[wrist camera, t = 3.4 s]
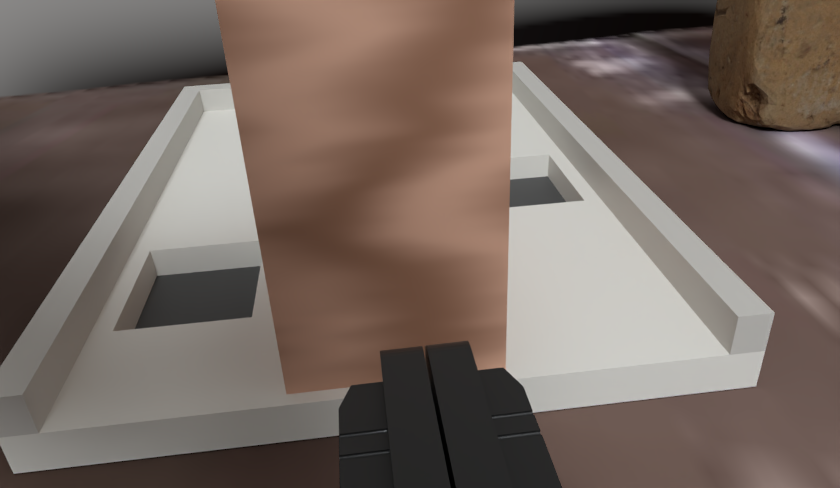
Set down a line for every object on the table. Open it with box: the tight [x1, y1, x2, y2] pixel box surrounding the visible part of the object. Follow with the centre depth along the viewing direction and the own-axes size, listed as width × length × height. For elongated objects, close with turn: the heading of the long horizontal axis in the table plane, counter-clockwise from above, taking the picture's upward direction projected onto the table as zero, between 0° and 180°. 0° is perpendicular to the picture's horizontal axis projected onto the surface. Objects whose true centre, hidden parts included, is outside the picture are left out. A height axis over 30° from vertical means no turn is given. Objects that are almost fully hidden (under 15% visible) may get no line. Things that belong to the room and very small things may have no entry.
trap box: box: [0, 62, 775, 474], centre depth 35 cm, size 24×32×3 cm
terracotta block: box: [215, 0, 514, 394], centre depth 24 cm, size 7×13×12 cm, turn 7°
